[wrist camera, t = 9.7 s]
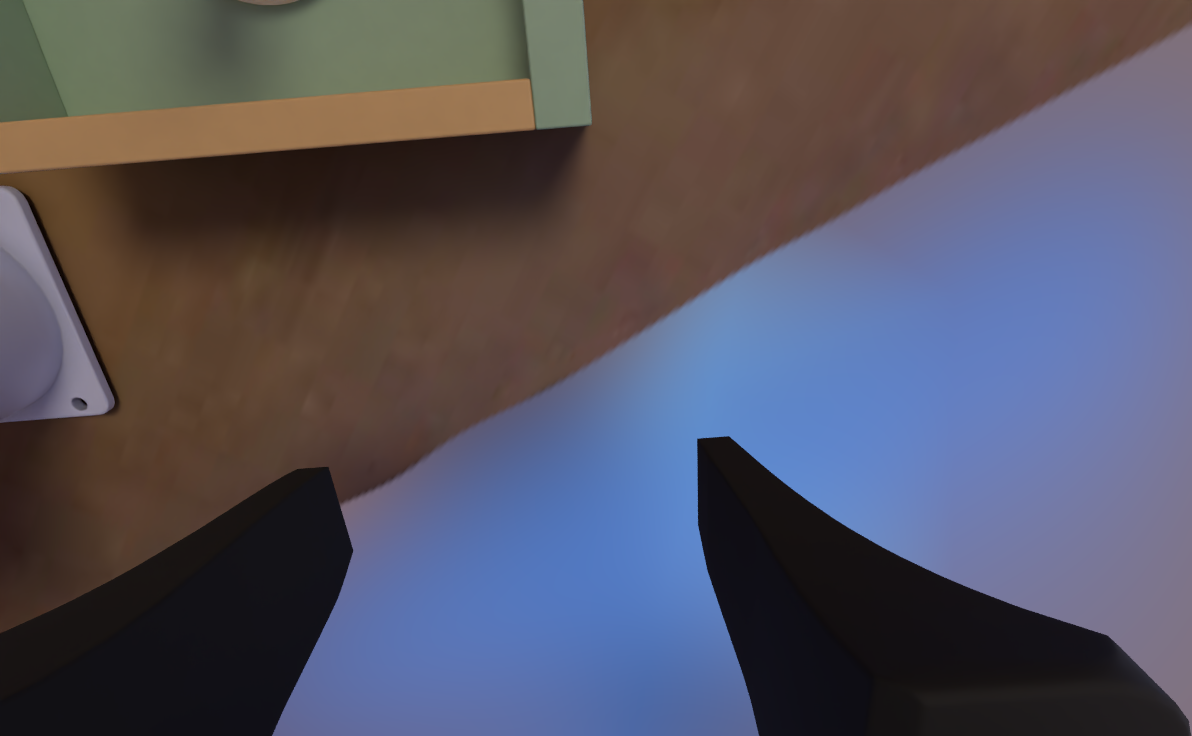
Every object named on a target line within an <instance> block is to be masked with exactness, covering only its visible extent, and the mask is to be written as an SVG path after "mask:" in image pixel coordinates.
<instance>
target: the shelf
mask: <svg viewBox="0 0 1192 736" xmlns="http://www.w3.org/2000/svg"><path fill="white" fill-rule="evenodd" d="M591 124H592V117H591V103H590V89H589V76H588V62H587V48H586V34H585V21H584V7H583V0H299V1H295V2H292V3H288V4H282V5H257V4H251V3H246V2H242V1H239V0H0V174H8V173H20V172H32V171H44V170H56V169H68V168H80V167H93V166H105V165H117V164H129V163H141V162H153V161H165V160H177V159H190V158H202V157H214V156H226V155H238V154H250V153H262V152H275V151H287V150H299V149H311V148H323V147H335V146H347V145H360V144H372V143H384V142H396V141H408V140H420V139H432V138H445V137H457V136H469V135H481V134H493V133H505V132H517V131H530V130H535V129H538V130H542V129H554V128H566V127H578V126H590V125H591Z"/></svg>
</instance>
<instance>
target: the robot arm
mask: <svg viewBox="0 0 1192 736" xmlns="http://www.w3.org/2000/svg"><path fill="white" fill-rule="evenodd" d="M80 398H81V399H83V400H84V401H85V402H86V403H87V405H85V404H84V403H83V402H82V401H81V400H80ZM114 404H115V401H114V397H113V395H112V392H111V390H110V388H109V386H108V383H107V381H106V379H105V376H104V374H103V372H102V370H101V367H100V365H99V363H98V361H97V358H96V356H95V354H94V352H93V349H92V347H91V345H90V342H89V340H88V338H87V336H86V333H85V331H84V329H83V327H82V324H81V322H80V320H79V318H78V315H77V313H76V311H75V308H74V306H73V304H72V302H71V299H70V297H69V295H68V293H67V290H66V288H65V286H64V283H63V281H62V279H61V277H60V274H59V272H58V270H57V268H56V265H55V263H54V261H53V259H52V256H51V254H50V252H49V249H48V247H47V245H46V243H45V240H44V238H43V236H42V234H41V231H40V229H39V227H38V225H37V222H36V220H35V218H34V215H33V213H32V211H31V209H30V206H29V204H28V202H27V200H26V198H25V197H24V195H23V194H22V193H21V192H20V191H18V190H17V189H15V188H13V187H11V186H0V423H1V422H14V421H27V420H40V419H53V418H66V417H79V416H92V415H101V414H105V413H106V412H108V411H109V410H111V409H112V408H113V407H114ZM697 447H698V448H697V449H698V450H697V451H698V452H697V453H698V526H699V531H700V536H701V541H702V546H703V551H704V556H705V560H706V565H707V570H708V573H709V576H710V579H711V582H712V585H713V588H714V591H715V594H716V597H717V600H718V603H719V606H720V609H721V612H722V615H723V618H724V620H725V623H726V626H727V629H728V632H729V635H730V638H731V641H732V644H733V646H734V650H735V652H736V655H737V658H738V661H739V664H740V667H741V670H742V673H743V676H744V679H745V682H746V686H747V689H748V693H749V696H750V699H751V703H752V707H753V711H754V716H755V720H756V724H757V728H758V733H759V736H1191V733H1190V726H1189V721H1188V719H1187V718H1186V716H1185V715H1184V714H1183V712H1182V711H1181V710H1180V708H1179V707H1178V705H1177V704H1176V703H1175V702H1174V701H1173V700H1172V699H1171V698H1170V697H1169V696H1168V695H1167V694H1166V693H1165V692H1164V691H1163V690H1162V689H1161V688H1160V687H1159V686H1158V685H1157V684H1156V683H1155V682H1154V681H1153V680H1152V679H1151V678H1150V677H1149V676H1148V675H1147V674H1146V673H1145V672H1144V671H1143V670H1142V669H1141V668H1140V667H1139V666H1138V665H1137V664H1136V663H1135V662H1134V661H1133V660H1132V659H1131V658H1130V657H1129V656H1128V655H1127V654H1126V653H1125V652H1124V651H1123V650H1122V649H1121V648H1120V647H1119V646H1118V645H1117V644H1116V643H1115V642H1114V641H1113V640H1112V639H1111V638H1109V637H1108V636H1107V635H1104V634H1101V633H1098V632H1094V631H1092V630H1088V629H1085V628H1082V627H1079V626H1076V625H1073V624H1070V623H1066V622H1063V621H1060V620H1057V619H1054V618H1051V617H1047V616H1045V615H1042V614H1039V613H1035V612H1032V611H1029V610H1026V609H1023V608H1020V607H1017V606H1015V605H1012V604H1009V603H1007V602H1004V601H1001V600H999V599H996V598H994V597H991V596H988V595H986V594H983V593H980V592H978V591H976V590H973V589H970V588H968V587H965V586H963V585H961V584H958V583H956V582H954V581H951V580H949V579H947V578H944V577H942V576H940V575H937V574H935V573H933V572H931V571H929V570H927V569H925V568H922V567H920V566H918V565H917V564H914V563H912V562H910V561H908V560H906V559H904V558H902V557H900V556H898V555H896V554H894V553H892V552H890V551H888V550H886V549H884V548H882V547H881V546H879V545H877V544H875V543H874V542H872V541H870V540H868V539H867V538H865V537H863V536H862V535H860V534H858V533H856V532H855V531H853V530H851V529H849V528H848V527H846V526H845V525H843V524H841V523H840V522H838V521H836V520H835V519H833V518H832V517H830V516H829V515H828V514H826V513H825V512H823V511H822V510H820V509H819V508H817V507H816V506H814V505H813V504H811V503H810V502H809V501H807V500H806V499H805V498H803V497H802V496H801V495H799V494H798V493H796V492H795V491H794V490H792V489H791V488H790V487H788V486H787V485H786V484H785V483H783V482H782V481H781V480H780V479H778V478H777V477H776V476H775V475H773V474H772V473H771V472H770V471H769V470H767V469H766V468H765V467H764V466H763V465H761V464H760V463H759V462H758V461H757V460H756V459H754V458H753V457H752V456H751V455H750V454H749V453H748V452H746V451H745V450H744V449H743V448H742V447H741V446H739V445H738V444H737V443H736V442H735V441H734V440H732V439H731V438H730V437H729V436H728V437H715V438H701V439H697ZM352 553H353V548H352V545H351V542H350V538H349V535H348V532H347V528H346V525H345V521H344V518H343V515H342V511H341V508H340V504H339V501H338V498H337V494H336V491H335V488H334V484H333V481H332V478H331V474H330V471H329V467H319V468H306V469H297V470H295V471H293V472H291V473H289V474H287V475H285V476H283V477H281V478H280V479H278V480H276V481H274V482H273V483H271V484H269V485H268V486H266V487H265V488H263V489H261V490H260V491H258V492H257V493H255V494H253V495H252V496H250V497H249V498H247V499H246V500H244V501H242V502H241V503H239V504H238V505H236V506H235V507H233V508H231V509H230V510H228V511H227V512H225V513H224V514H222V515H220V516H219V517H217V518H216V519H214V520H213V521H211V522H209V523H208V524H206V525H205V526H203V527H202V528H200V529H198V530H197V531H195V532H193V533H192V534H190V535H188V536H187V537H185V538H183V539H182V540H180V541H178V542H177V543H175V544H173V545H172V546H170V547H168V548H167V549H165V550H163V551H162V552H160V553H158V554H157V555H155V556H153V557H152V558H150V559H148V560H147V561H145V562H143V563H142V564H140V565H138V566H136V567H135V568H133V569H131V570H129V571H127V572H126V573H124V574H122V575H120V576H118V577H116V578H115V579H113V580H111V581H109V582H107V583H105V584H103V585H101V586H99V587H97V588H95V589H93V590H92V591H90V592H88V593H86V594H84V595H82V596H80V597H78V598H76V599H74V600H72V601H70V602H68V603H66V604H64V605H62V606H60V607H58V608H56V609H53V610H51V611H49V612H47V613H45V614H42V615H40V616H38V617H36V618H34V619H31V620H29V621H27V622H25V623H23V624H20V625H18V626H16V627H14V628H11V629H9V630H7V631H5V632H3V633H0V736H272V734H273V732H274V730H275V728H276V725H277V723H278V721H279V718H280V716H281V714H282V712H283V709H284V707H285V705H286V703H287V701H288V699H289V697H290V695H291V693H292V691H293V689H294V687H295V685H296V683H297V681H298V679H299V677H300V675H301V673H302V671H303V669H304V667H305V665H306V663H307V661H308V659H309V657H310V655H311V653H312V651H313V649H314V647H315V645H316V643H317V641H318V638H319V637H320V635H321V632H322V630H323V628H324V626H325V624H326V622H327V620H328V618H329V616H330V614H331V611H332V610H333V607H334V605H335V603H336V601H337V599H338V596H339V593H340V591H341V587H342V585H343V582H344V579H345V576H346V573H347V569H348V566H349V563H350V560H351V556H352Z"/></svg>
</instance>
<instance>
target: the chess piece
mask: <svg viewBox="0 0 1192 736" xmlns="http://www.w3.org/2000/svg"><path fill="white" fill-rule="evenodd" d="M239 1H242V2H246V3H251V4H257V5H282V4H288V3H292V2H295V1H299V0H239Z"/></svg>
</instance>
